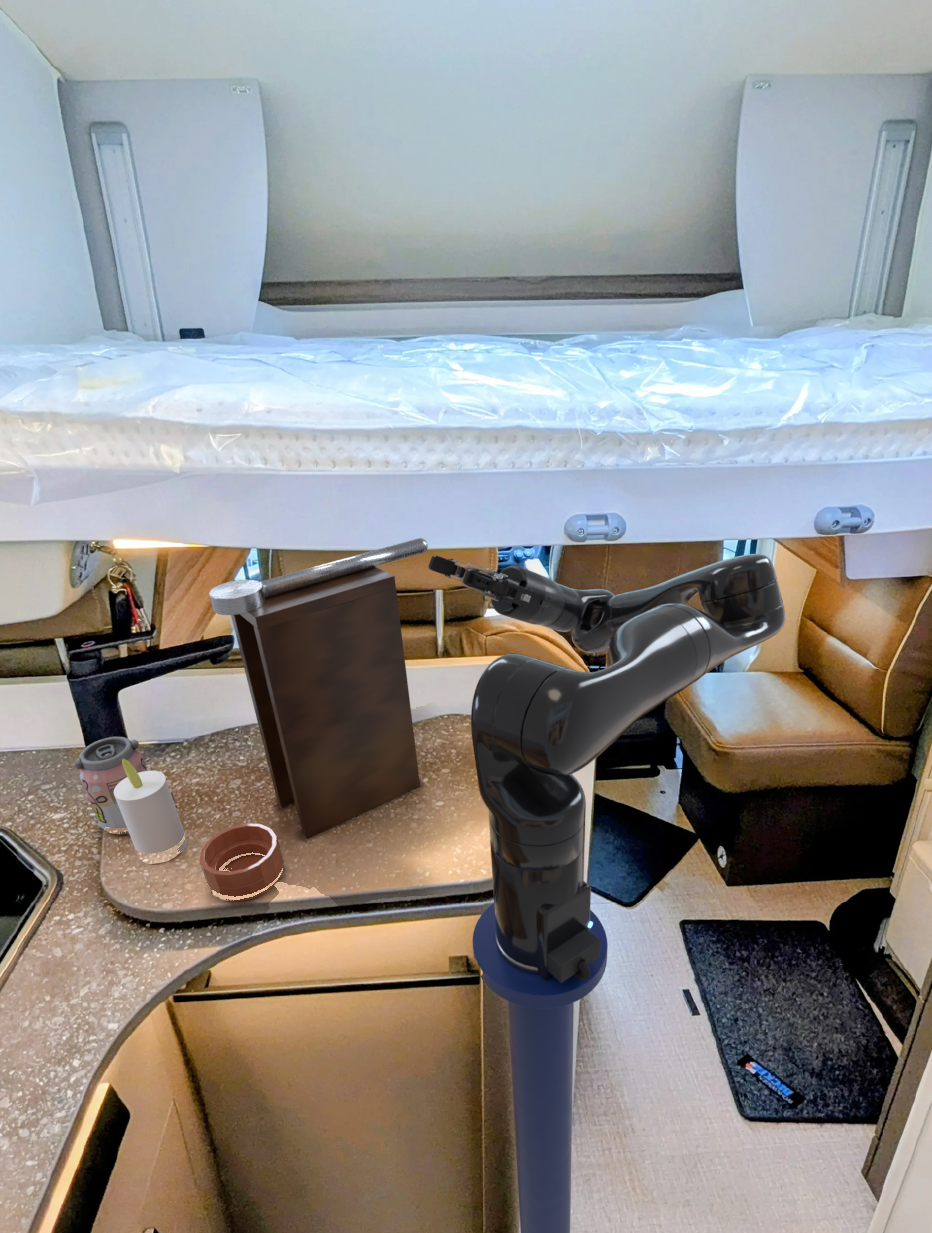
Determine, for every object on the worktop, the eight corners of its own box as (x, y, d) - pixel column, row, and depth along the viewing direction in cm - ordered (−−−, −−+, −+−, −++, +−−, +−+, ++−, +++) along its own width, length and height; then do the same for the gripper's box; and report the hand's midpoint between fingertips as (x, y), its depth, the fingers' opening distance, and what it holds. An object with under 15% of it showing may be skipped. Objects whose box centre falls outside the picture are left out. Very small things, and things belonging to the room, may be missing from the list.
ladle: (415, 546, 96) (413, 532, 95) (439, 556, 92) (438, 541, 91) (206, 605, 83) (202, 589, 82) (223, 619, 78) (218, 603, 77)
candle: (198, 842, 95) (167, 749, 88) (155, 871, 91) (119, 776, 83) (170, 826, 99) (139, 736, 91) (128, 853, 94) (91, 761, 87)
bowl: (296, 882, 87) (288, 851, 85) (224, 917, 83) (213, 886, 80) (268, 843, 94) (260, 813, 91) (200, 874, 90) (190, 844, 87)
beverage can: (94, 813, 103) (65, 744, 97) (153, 790, 107) (128, 723, 101) (106, 846, 96) (76, 774, 90) (169, 821, 100) (144, 750, 94)
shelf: (386, 756, 110) (356, 557, 94) (420, 786, 102) (394, 575, 86) (277, 803, 101) (225, 593, 85) (306, 839, 94) (255, 617, 78)
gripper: (507, 562, 112) (429, 532, 101) (570, 585, 101) (489, 553, 91) (491, 607, 113) (411, 582, 103) (550, 634, 103) (469, 608, 92)
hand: (448, 568), depth 97 cm, fingers open, 8 cm apart
